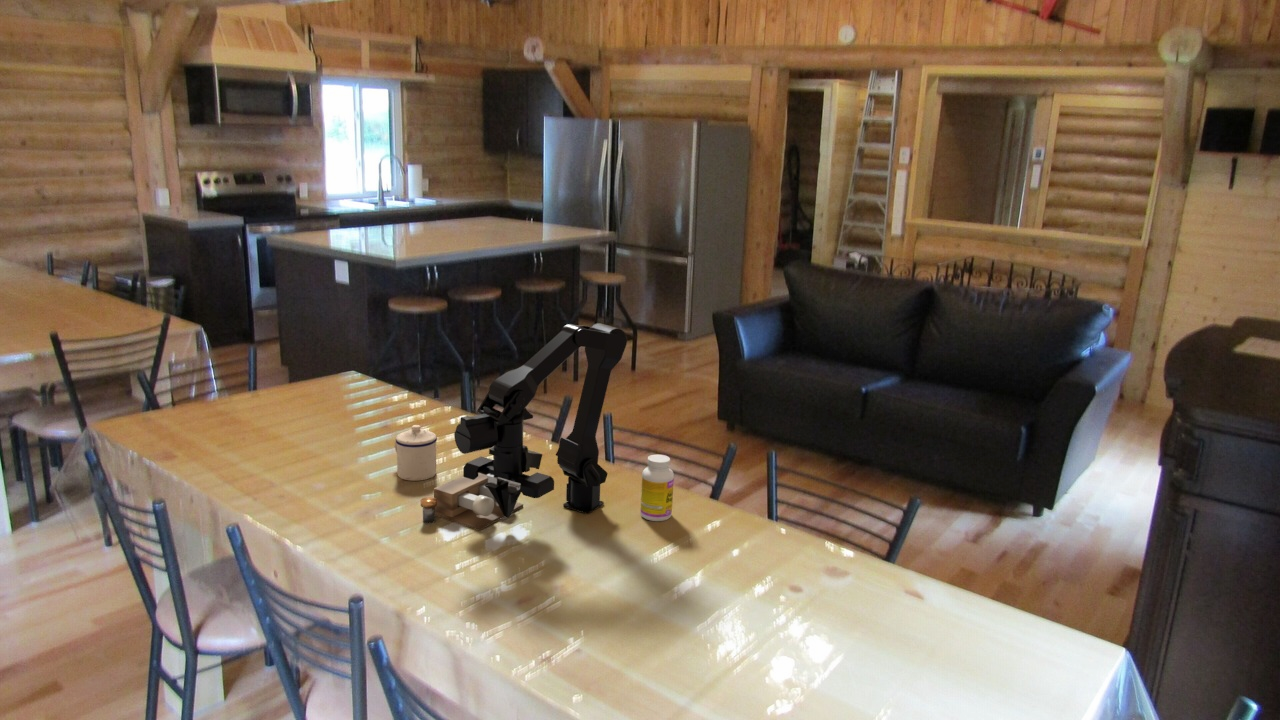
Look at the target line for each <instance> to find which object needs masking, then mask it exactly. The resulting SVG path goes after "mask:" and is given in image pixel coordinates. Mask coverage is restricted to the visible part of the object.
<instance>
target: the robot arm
mask: <svg viewBox="0 0 1280 720" xmlns="http://www.w3.org/2000/svg"><path fill="white" fill-rule="evenodd" d="M627 342H628V337H627V336H626V333H625V331H624V330H622V329H621V328H618V327H614V326H611V325H608V324H604V323H603V322H602V323H600V322H597V323H594V324H593V325H592V326H591V325H590V326H589V325H582V324H581V325H577V324H573V323H569V324H568V323H567V324H566V325H564V326H563V327H562V328H561V330H560V332H558V334H557V335H555V336H554V337H553V338H552V339H551V340H550V341H548V343H546V344H545V345H544V346H543V347H542V348H541V349H540V350H539V351H537V352H536V353H535V354H534V355H533V356H532V357H531V358H530V359H528V360H527V361H526V362H525V363H524V364H523V365H521V366H520V367H518V368H515V369H512V370H509V371H506V372H505V373H503V374H502V375H500V376H499V377H497V378H496V379H494V380H493V381H492V382H491V383H490V385H489V387H488V389H489V390H488V392H487V393H486V395H485V397H484V399H483V401H482V402H481V404H480V405H479V407H478V409H477V411H476V412H477V413H478V414H476V415H471V416H469V415H466V416H461V417H460V423H459V424H457V425H456V428H455V431H454V434H453V435H454V441H455V445H456V448H457V449H458V451H459V452H460V453H461V454H462V455H463V454H464V455H467V454H470V453H475V452H480V451H483V450H488V454H489V455H491V456H492V457H493V458H492V459H491V458H488V457H484V456H479V457H476V458H474V459H472V460H469V461H468V462H466V463H465V464H464V465H463V470H462V471H463V472H462V474H463V475H462V476H464V477H466V478H469V479H472V480H474V479H476V478H477V477H478V473H481V474H485V475H487V477H488V483H486V484H485V487H486V488H488V489H489V490H490V492H491V493H492V495H493V497H494V498H495V500H496V502H497V503H498V505H499V507H500V509H501V511H502V513H503V515H504V517H503V518H506V519H507V518H511V517H512V515H513V513H514V512H513V510H514V507H515V505H516V502H518V500H519V497H520V496H521V494H522V495H523V496H525V497H528V498H531V499H539V498H541V497H543V496H544V495H546V494H549V493H550V492H552V491H554V490H555V480H554V478H553V477H552V476H551V475H547V474H543V473H541V472H534V473H533V474H531V475H528V474H524V473H528V472H530V470H531V469H536V470H539V469H540V467H541V463H542V458H543V453H541V452H537V451H532V450H529V448H528V446H527V445H524V421H526V420H527V421H528V420H531V419H533V418H534V414H532V413H530V411H528V409H527V406H528V405H530V403H531V402H532V400H534V398H535V397H536V394H537V390H538V387H539V386H540V385H541V383H542V382H544V381H545V380H546V379H547V378H548V377H549V376H550V375H551V374H553V372H554V371H555V370H557V369H558V368H559V367H560V366H561V365H562V364H563V363H564V362H566V360H567V359H569V358H570V357H571V356H572V355H573V354H574V353H575V352H576V351H577V350H579V349H580V348H581V347H584V352H585V356H586V357H585V358H586V362H587V369H586V374H585V377H584V381H583V386H582V390H581V394H580V397H579V402H578V406H577V407H578V408H577V409H576V410H577V411H576V414H575V415H576V416H575V420H574V424H573V428H572V431H571V432H570V433H569V434H568V436H566V437H563V436H561V437H560V438H559V444H558V449H557V451H556V454H555V456H556V457H557V459H556V460H557V464H558V467H559V468H560V469H561V470H562V472H563V475H564V476H566V477H568V479H567V482H566V491H565V495H566V496H565V497H566V498H565V500H566V502H564V503H563V506H562V507H564V508H567V509H571V510H573V511H577V512H580V513H583V514H590V513H592V512H593V511H595V510H597V509H598V508H600V507H602V506H604V504H605V502H604V501H603V500H601V484H604V483H606V480H607V477H608V472H607V471H606V470H605V469H604V468H603V467H602V466H601V465H600V464H598V463H599V454H600V450H599V445H598V442H597V437H596V436H597V432H598V427H599V424H600V419H601V415H602V411H603V406H604V403H605V398H606V394H607V390H608V386H609V382H610V378H611V374H612V373H611V372H612V370H613V369H614V368H615V367H616V366H617V365H618V364H619V362H620V361H621V359H622V357H623V355H624V353H625V350H626V347H627V344H628V343H627ZM495 406H496V407H498V408H500V409H502V411H500V410H498V409H496V408H494V407H495ZM492 447H493V448H492ZM512 512H513V513H512Z"/></svg>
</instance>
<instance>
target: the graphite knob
mask: <svg viewBox="0 0 1280 720" xmlns="http://www.w3.org/2000/svg"><path fill="white" fill-rule="evenodd" d="M486 483H487V482H485V483H483V484H481V485H479V495H483V496H486V497H489V498H492V499H493V500H494V501H495V502H496V500H495V498H494V497H493V495H492V493H491V492H490V490H489V489H488V488H486V487H485V484H486ZM496 503H497V502H496Z"/></svg>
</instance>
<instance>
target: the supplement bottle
mask: <svg viewBox="0 0 1280 720" xmlns="http://www.w3.org/2000/svg"><path fill="white" fill-rule="evenodd" d="M646 464H647V466H646V467H645V468H644V469H643V470H642V472H641V494H640V509H639V512H640V516H641V517H642V518H643V519H646V520H647V521H651V522H664V521H666V520H669V519H670V518H671V516H672V512H673V501H674V500H673V499H674V498H673V496H674V479H675V478H674V477H675V475H674V471H673V470H672V469H671V468H669V467H670V465H671V458H670V457H669V456H667V455H665V454H651V455H649V456H648V457H647V463H646Z"/></svg>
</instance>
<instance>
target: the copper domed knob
mask: <svg viewBox="0 0 1280 720" xmlns="http://www.w3.org/2000/svg"><path fill="white" fill-rule="evenodd" d="M436 505H437V499H436V498H434V496H425V497H422V498H421V499H420V507H421V508H422V522H423V523H424V524H432V523H435V522H436V516H435V506H436Z"/></svg>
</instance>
